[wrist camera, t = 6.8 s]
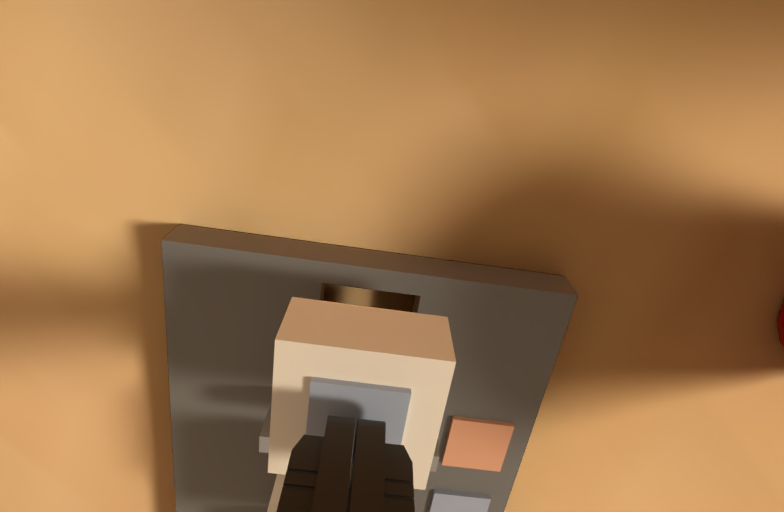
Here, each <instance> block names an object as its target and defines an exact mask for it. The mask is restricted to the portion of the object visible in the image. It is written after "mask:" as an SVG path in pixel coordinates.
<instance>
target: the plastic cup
mask: <svg viewBox="0 0 784 512" xmlns="http://www.w3.org/2000/svg"><path fill="white" fill-rule="evenodd" d="M777 324H778V330H779V336H780V343H781V344H782V345H783V346H784V301H783V304H782V307H781V310H780V313H779V316H778V319H777Z"/></svg>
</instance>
